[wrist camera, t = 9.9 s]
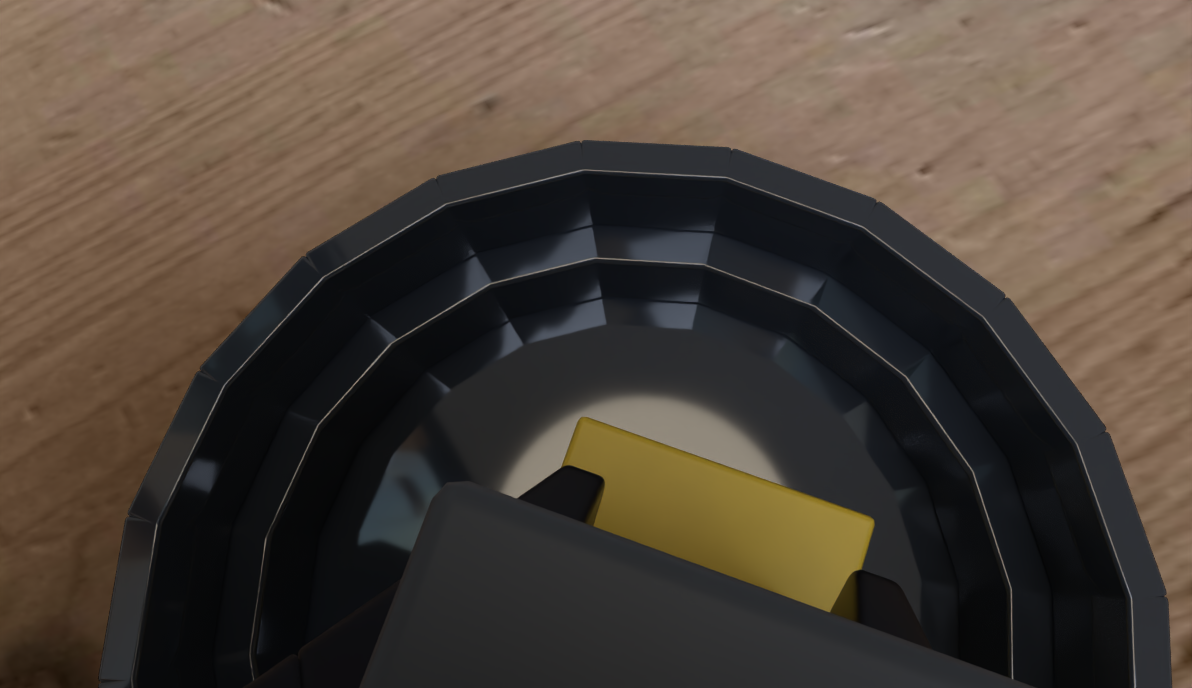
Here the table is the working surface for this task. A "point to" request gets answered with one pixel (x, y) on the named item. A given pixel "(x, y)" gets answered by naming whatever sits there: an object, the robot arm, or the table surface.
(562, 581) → the sponge wand
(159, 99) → the table surface
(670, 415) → the bowl
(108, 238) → the table surface
